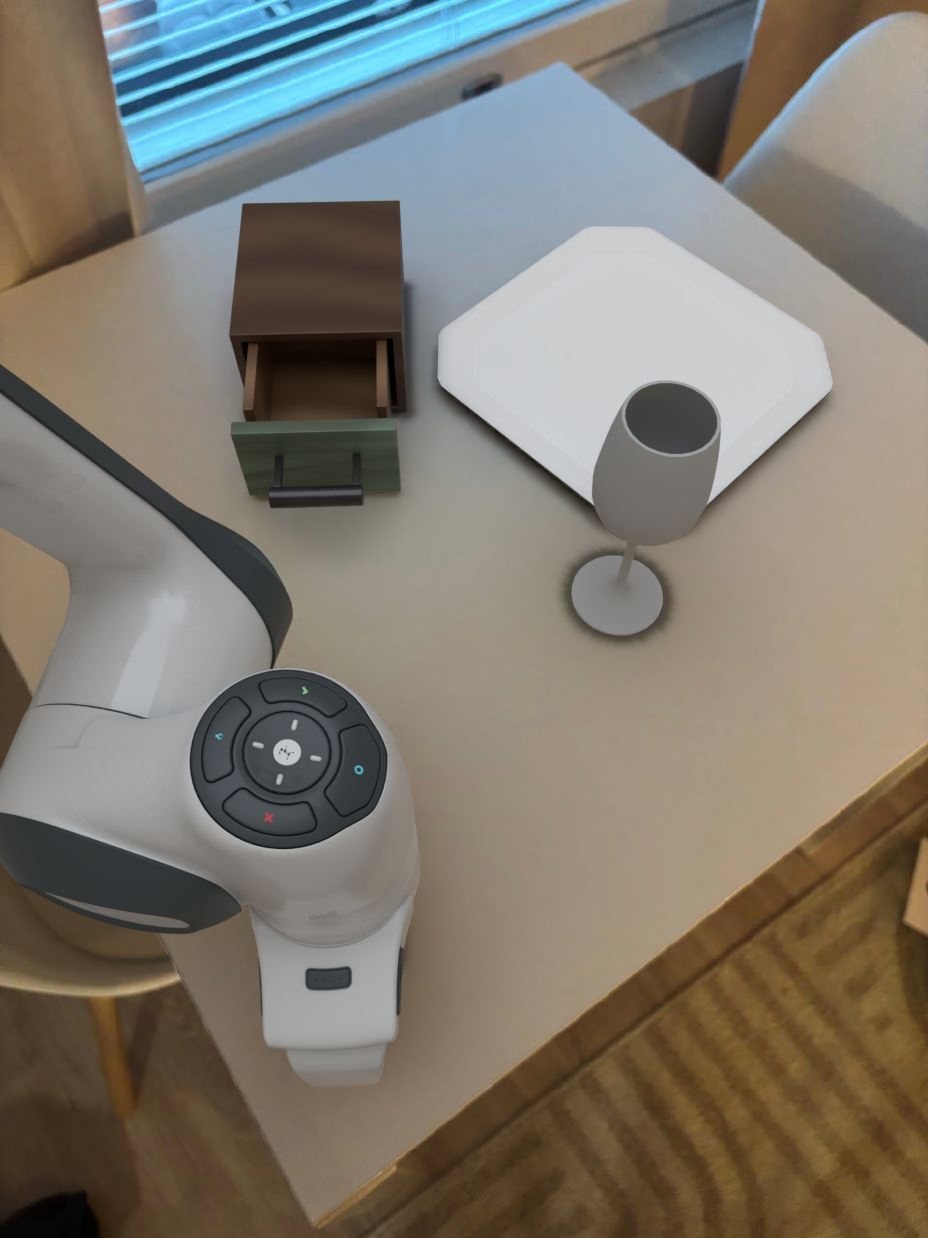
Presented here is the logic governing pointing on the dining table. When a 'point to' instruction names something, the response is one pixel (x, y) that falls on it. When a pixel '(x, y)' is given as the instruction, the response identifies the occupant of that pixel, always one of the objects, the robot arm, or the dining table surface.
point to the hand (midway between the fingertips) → (357, 916)
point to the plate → (628, 352)
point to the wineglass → (647, 498)
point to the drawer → (318, 422)
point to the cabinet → (321, 278)
